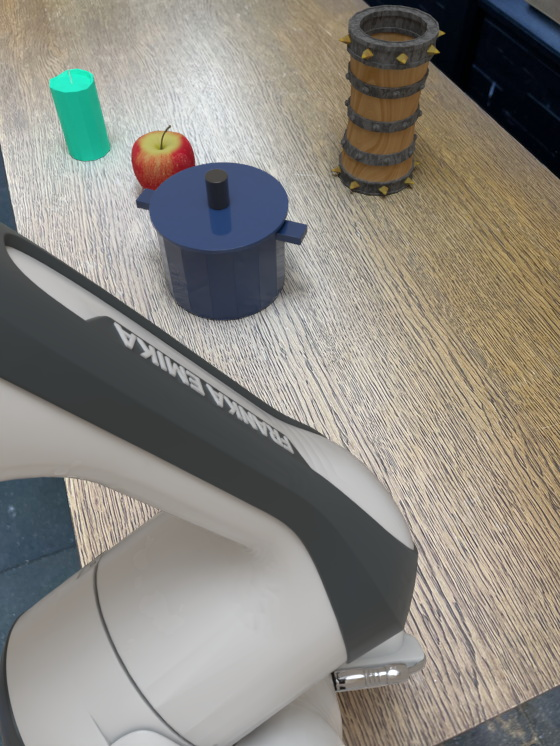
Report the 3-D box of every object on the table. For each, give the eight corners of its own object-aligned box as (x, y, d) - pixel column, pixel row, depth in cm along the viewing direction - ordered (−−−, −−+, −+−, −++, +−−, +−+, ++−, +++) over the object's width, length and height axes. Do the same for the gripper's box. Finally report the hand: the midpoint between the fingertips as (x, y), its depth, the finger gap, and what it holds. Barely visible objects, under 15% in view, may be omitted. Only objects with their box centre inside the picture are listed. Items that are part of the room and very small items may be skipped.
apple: (189, 213, 86) (179, 146, 78) (128, 205, 87) (112, 138, 79) (206, 176, 91) (198, 109, 83) (148, 169, 92) (135, 103, 84)
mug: (337, 205, 87) (348, 55, 71) (317, 133, 97) (323, -11, 81) (431, 197, 88) (463, 48, 72) (402, 126, 98) (424, -17, 82)
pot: (282, 339, 72) (282, 269, 64) (127, 297, 77) (108, 227, 68) (320, 258, 80) (324, 187, 72) (178, 224, 85) (166, 154, 76)
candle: (104, 133, 98) (85, 54, 88) (115, 155, 94) (96, 74, 85) (65, 143, 96) (40, 63, 87) (74, 165, 93) (50, 84, 83)
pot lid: (259, 272, 65) (258, 236, 61) (125, 239, 68) (116, 203, 64) (306, 185, 73) (307, 149, 70) (186, 159, 77) (181, 124, 73)
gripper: (432, 623, 37) (379, 535, 51) (72, 665, 36) (117, 564, 50) (438, 724, 38) (385, 611, 52) (86, 768, 37) (127, 641, 51)
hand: (251, 588), depth 51 cm, fingers closed, pressing on soda can
